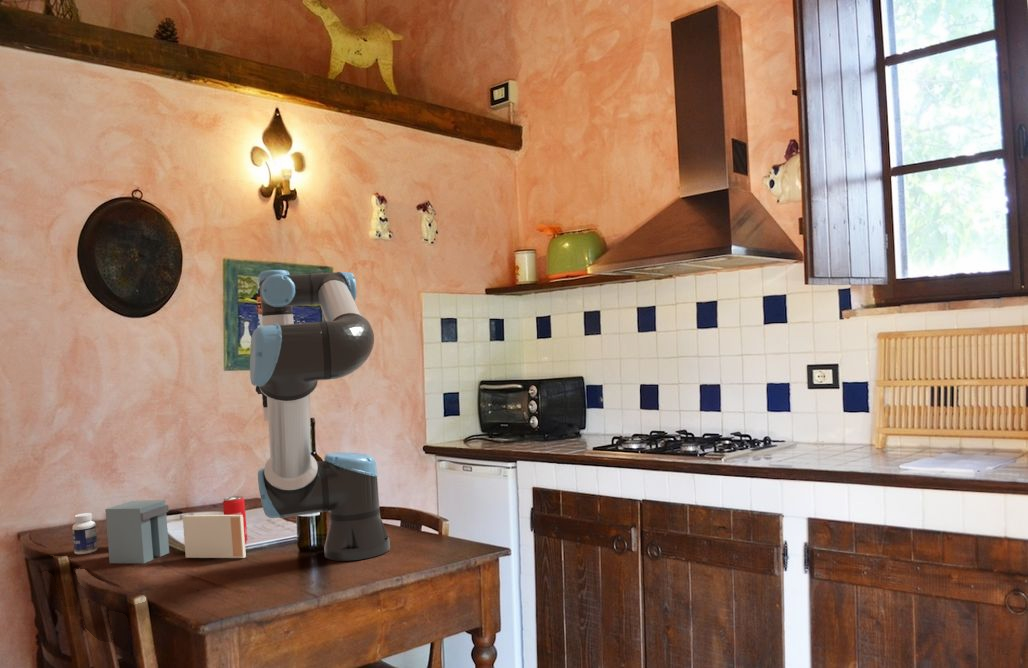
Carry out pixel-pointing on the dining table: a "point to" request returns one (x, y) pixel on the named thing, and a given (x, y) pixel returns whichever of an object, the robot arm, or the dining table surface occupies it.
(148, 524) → the block
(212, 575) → the dining table surface
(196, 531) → the cream panel tan stripe
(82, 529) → the pill bottle
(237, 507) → the beverage can
